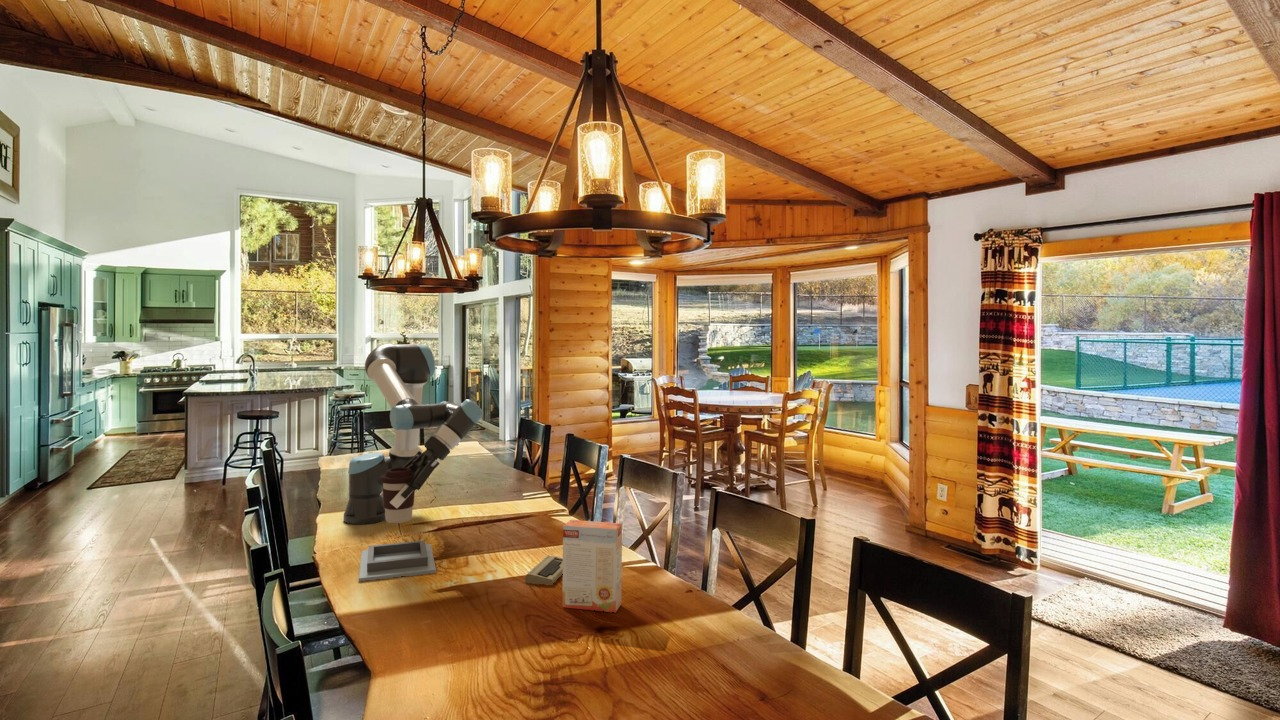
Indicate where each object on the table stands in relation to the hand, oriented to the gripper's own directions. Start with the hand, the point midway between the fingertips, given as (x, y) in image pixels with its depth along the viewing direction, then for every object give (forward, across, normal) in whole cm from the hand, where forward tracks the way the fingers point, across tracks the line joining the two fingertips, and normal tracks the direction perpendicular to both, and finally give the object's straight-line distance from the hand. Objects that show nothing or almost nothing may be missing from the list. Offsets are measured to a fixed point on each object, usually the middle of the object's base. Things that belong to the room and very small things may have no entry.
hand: (388, 501), depth 184 cm
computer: (-11, -33, -38) cm, 52 cm away
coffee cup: (+2, 0, -6) cm, 7 cm away
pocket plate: (+11, 0, -15) cm, 19 cm away
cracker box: (-10, -58, -37) cm, 70 cm away
